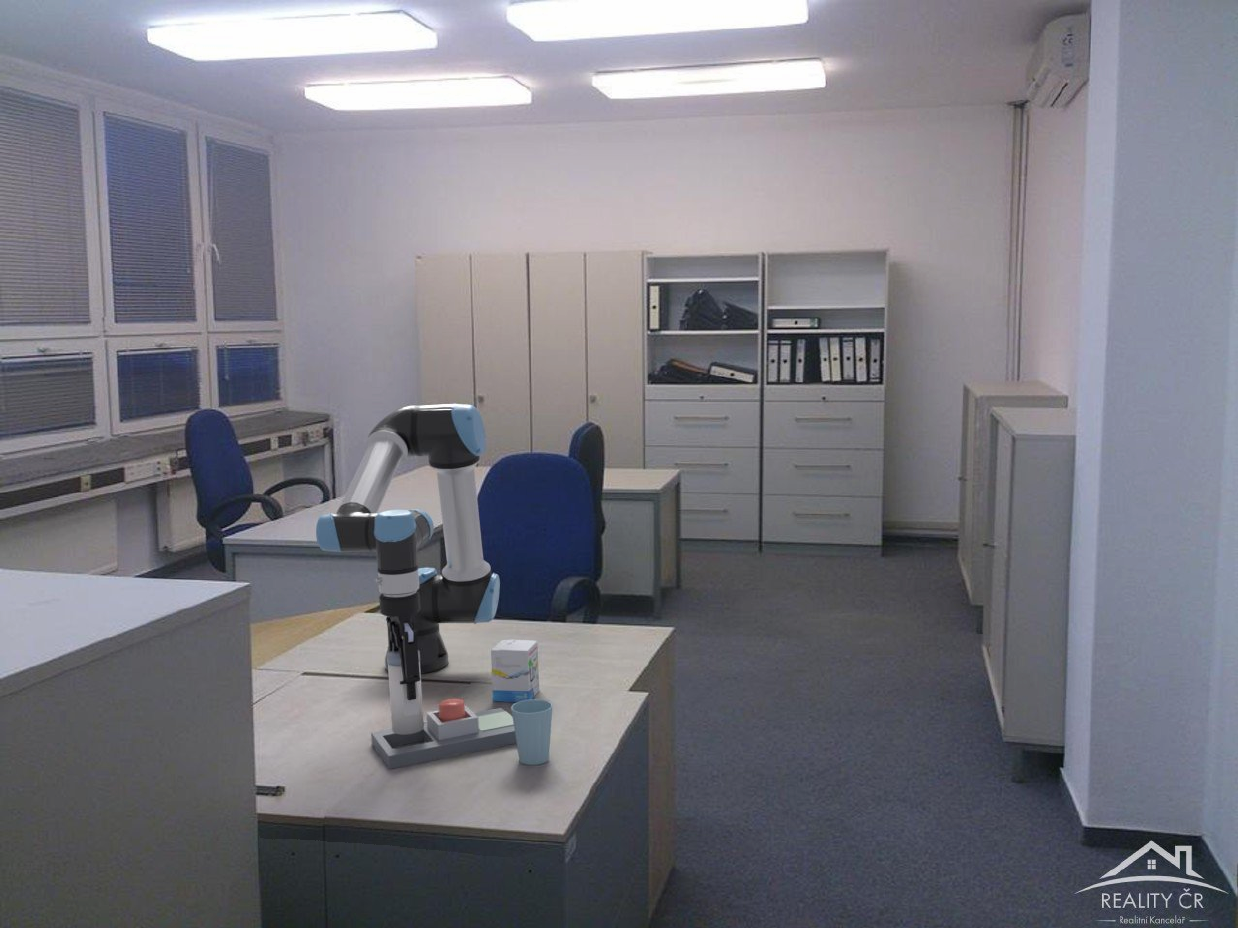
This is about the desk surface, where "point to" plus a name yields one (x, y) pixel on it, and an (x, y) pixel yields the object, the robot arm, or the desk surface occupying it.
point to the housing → (446, 737)
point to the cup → (532, 730)
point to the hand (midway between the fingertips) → (406, 708)
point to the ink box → (515, 670)
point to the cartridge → (396, 698)
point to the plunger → (451, 710)
